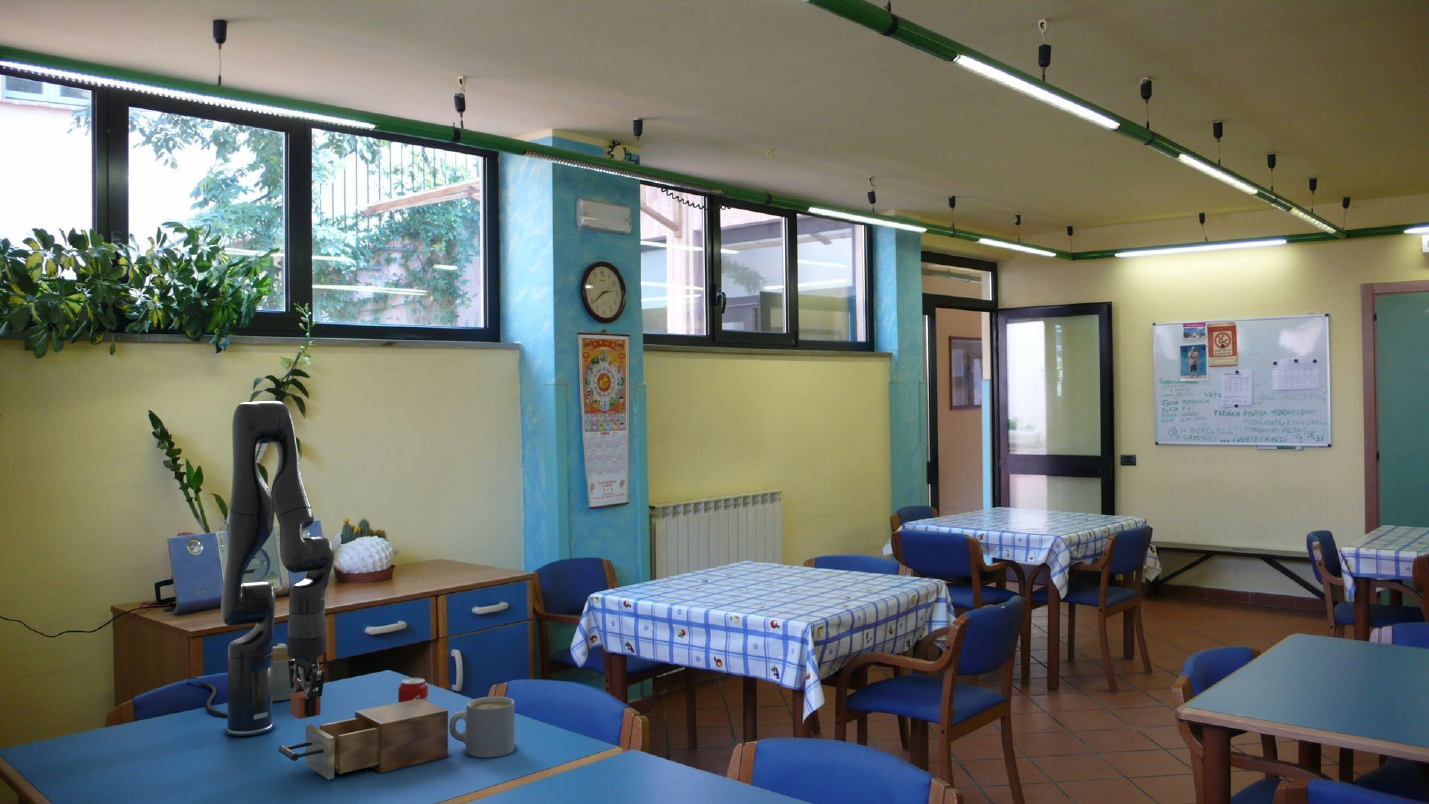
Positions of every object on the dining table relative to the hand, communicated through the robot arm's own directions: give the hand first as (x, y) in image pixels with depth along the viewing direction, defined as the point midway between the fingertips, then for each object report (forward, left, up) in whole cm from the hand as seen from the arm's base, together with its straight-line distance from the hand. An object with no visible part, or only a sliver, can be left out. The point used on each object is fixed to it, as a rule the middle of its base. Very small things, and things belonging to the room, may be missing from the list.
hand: (305, 713), depth 220 cm
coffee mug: (+23, +29, -9) cm, 38 cm away
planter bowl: (-49, +12, -9) cm, 51 cm away
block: (0, 0, 0) cm, 0 cm away
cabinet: (+16, +14, -8) cm, 23 cm away
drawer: (+16, 0, -7) cm, 18 cm away
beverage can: (+3, +23, -9) cm, 24 cm away
